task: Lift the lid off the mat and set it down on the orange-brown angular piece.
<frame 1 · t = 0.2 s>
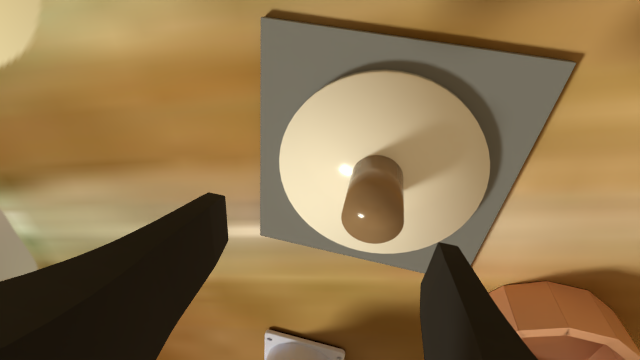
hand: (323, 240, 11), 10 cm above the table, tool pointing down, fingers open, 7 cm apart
mat: (378, 167, 20), on the table
lid: (377, 171, 19), resting on mat
orange-brown angular piece: (533, 328, 24), on the table
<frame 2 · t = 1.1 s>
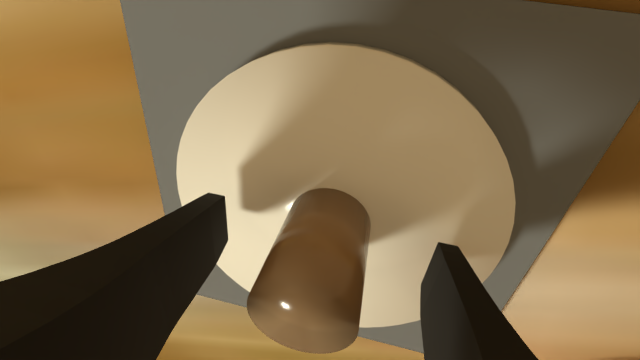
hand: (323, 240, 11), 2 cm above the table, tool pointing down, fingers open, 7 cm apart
mat: (335, 202, 13), on the table
lid: (332, 209, 12), resting on mat
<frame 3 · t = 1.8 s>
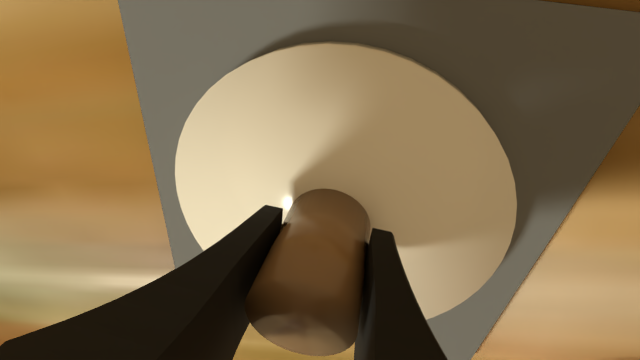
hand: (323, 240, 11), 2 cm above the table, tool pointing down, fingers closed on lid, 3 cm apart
mat: (335, 203, 13), on the table
lid: (332, 210, 12), point 1 cm above the table, touching gripper, mat
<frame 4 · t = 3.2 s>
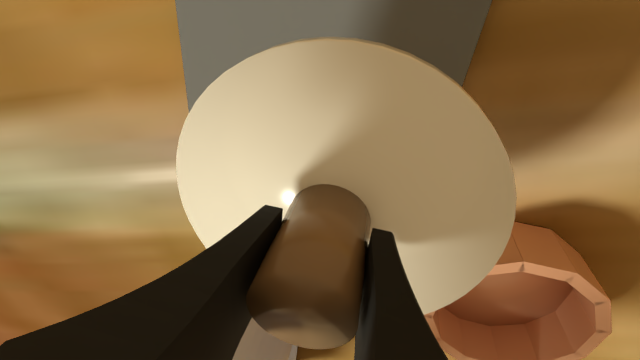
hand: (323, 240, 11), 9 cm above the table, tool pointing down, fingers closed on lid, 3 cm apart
mat: (313, 85, 18), on the table
lid: (333, 206, 12), point 7 cm above the table, touching gripper
orange-brown angular piece: (495, 278, 22), on the table
when the fingers open (7 cm above the table, at t = 4.8 s): lid drops 1 cm, resting on orange-brown angular piece.
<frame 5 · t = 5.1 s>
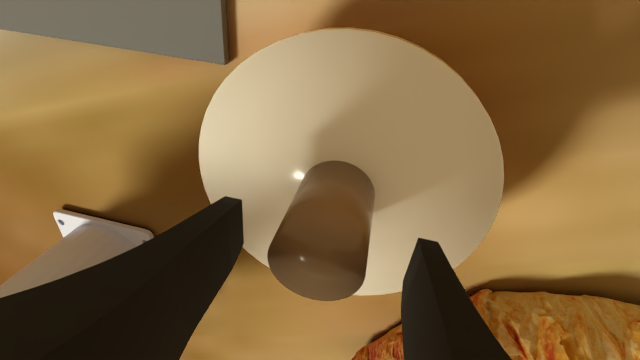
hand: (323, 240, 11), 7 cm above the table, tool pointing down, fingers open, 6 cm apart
lid: (340, 183, 14), point 3 cm above the table, touching orange-brown angular piece
croissant: (478, 332, 22), on the table
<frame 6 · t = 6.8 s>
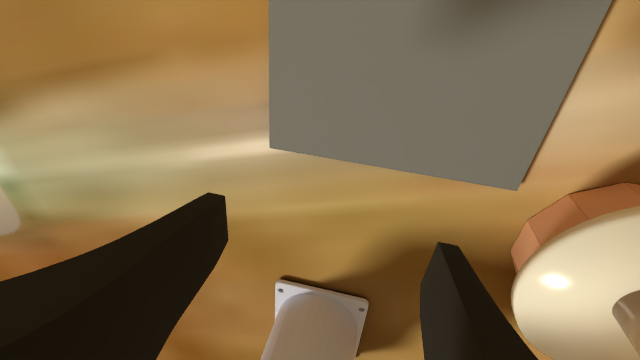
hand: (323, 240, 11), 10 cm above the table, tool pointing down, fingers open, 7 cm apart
mat: (416, 33, 16), on the table
lid: (638, 295, 17), point 3 cm above the table, touching orange-brown angular piece
orange-brown angular piece: (601, 252, 20), on the table
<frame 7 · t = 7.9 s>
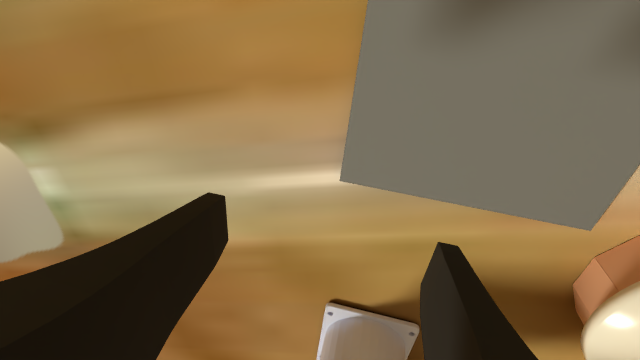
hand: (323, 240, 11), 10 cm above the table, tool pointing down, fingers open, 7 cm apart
mat: (507, 80, 16), on the table
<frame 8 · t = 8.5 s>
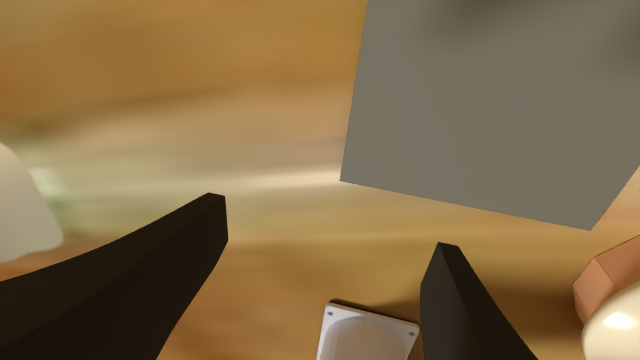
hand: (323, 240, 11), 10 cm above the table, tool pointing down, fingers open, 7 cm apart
mat: (507, 80, 16), on the table
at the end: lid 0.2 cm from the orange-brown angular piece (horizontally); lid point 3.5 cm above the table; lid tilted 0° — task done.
